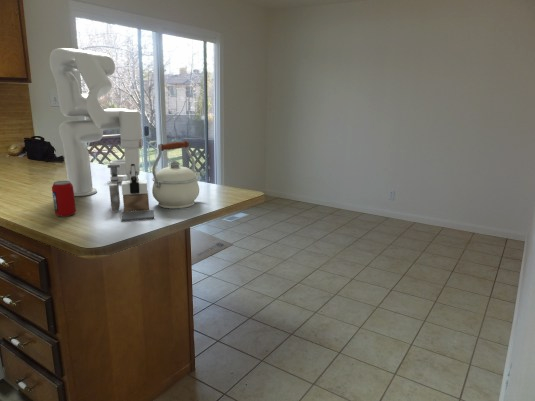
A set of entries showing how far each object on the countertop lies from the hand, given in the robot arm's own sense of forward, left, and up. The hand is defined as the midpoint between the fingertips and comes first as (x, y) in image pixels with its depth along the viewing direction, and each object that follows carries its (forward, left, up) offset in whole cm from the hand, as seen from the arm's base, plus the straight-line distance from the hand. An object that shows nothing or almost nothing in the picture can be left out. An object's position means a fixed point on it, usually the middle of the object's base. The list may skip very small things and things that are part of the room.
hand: (135, 190), depth 147 cm
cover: (0, 0, -1) cm, 1 cm away
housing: (-2, +2, -7) cm, 8 cm away
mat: (+1, -12, -7) cm, 14 cm away
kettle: (+17, +3, -7) cm, 18 cm away
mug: (-6, +55, -7) cm, 55 cm away
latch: (-6, +7, +3) cm, 10 cm away
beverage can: (-24, -2, -7) cm, 25 cm away
